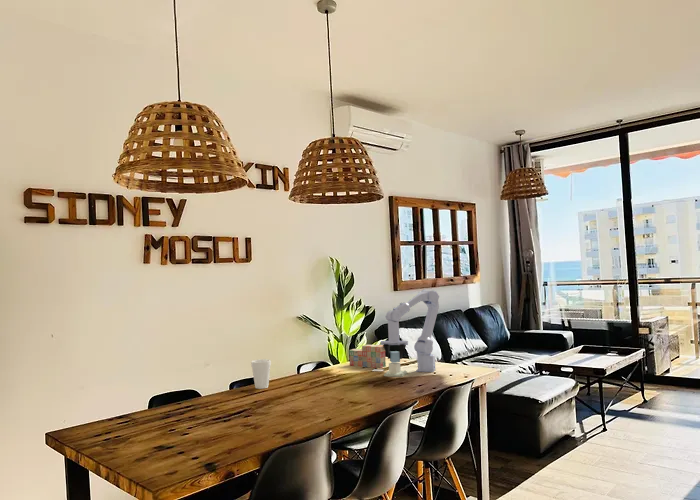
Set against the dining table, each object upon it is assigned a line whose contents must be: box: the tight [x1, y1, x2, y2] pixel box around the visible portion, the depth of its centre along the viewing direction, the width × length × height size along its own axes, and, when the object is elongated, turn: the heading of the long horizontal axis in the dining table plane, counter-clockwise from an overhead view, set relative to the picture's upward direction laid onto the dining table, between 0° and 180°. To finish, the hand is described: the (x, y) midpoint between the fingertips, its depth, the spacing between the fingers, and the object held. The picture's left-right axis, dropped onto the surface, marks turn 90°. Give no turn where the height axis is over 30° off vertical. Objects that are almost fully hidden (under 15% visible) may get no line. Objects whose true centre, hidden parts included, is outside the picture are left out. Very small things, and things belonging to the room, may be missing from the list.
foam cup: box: [250, 358, 272, 390], centre depth 263 cm, size 10×9×13 cm
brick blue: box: [389, 350, 401, 363], centre depth 282 cm, size 4×4×5 cm
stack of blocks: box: [348, 344, 387, 369], centre depth 311 cm, size 21×6×12 cm, turn 57°
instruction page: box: [371, 368, 384, 372], centre depth 295 cm, size 6×4×1 cm, turn 71°
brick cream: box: [388, 362, 402, 374], centre depth 282 cm, size 4×4×5 cm
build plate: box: [383, 370, 408, 378], centre depth 282 cm, size 10×10×1 cm
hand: (394, 358), depth 282 cm, fingers closed on brick blue, 6 cm apart
